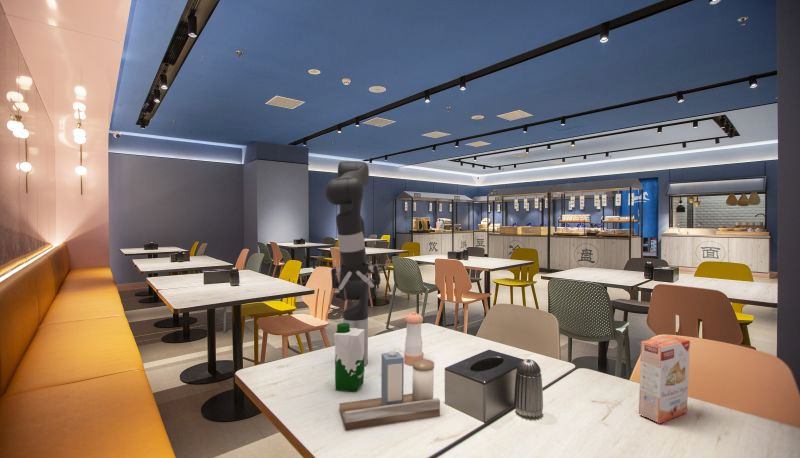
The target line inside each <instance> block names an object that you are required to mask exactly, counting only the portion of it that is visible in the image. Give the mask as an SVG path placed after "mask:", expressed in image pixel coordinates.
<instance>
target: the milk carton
mask: <svg viewBox="0 0 800 458" xmlns="http://www.w3.org/2000/svg"><path fill="white" fill-rule="evenodd" d="M333 337H334V339H333V340H334V390H335V391H342V392H353V393H357V392H358V391H359V390H360V388H361V387H362V385H363V384H364V376H365V366H364V329H357V328H350V324H348V323H343V322H342V323H338V324H337V325H336V331H335V333H334V334H333Z"/></svg>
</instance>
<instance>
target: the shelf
mask: <svg viewBox="0 0 800 458" xmlns="http://www.w3.org/2000/svg"><path fill="white" fill-rule="evenodd" d="M338 405H339V409H338V410H339V411H338V412H339V413H340V417H341V420H342V424H343V427H344V430H345V431H346V432H347V431H352V430H359V429H365V428H372V427H376V426H384V425H390V424H397V423H404V422H411V421H415V420H424V419H428V418H429V419H430V418H434V417H435V418H436V417H440V416H441V400H440V398H438V397H436V398H433V399H429V400H422V401H415V402H412V393H406V394H403V403H401V404H394V405H387V406H383V405H382V403H381V397H377V398H367V399H362V400H354V401H347V402H339V404H338Z"/></svg>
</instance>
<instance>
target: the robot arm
mask: <svg viewBox="0 0 800 458" xmlns="http://www.w3.org/2000/svg"><path fill="white" fill-rule="evenodd" d="M369 178H370V171H369V165H368V164H367V163H366V162H365V161H361V160H360V161H359V160H358V161H357V160H353V161H352V160H346V161H345V160H343V161H340V162H339V163H338V166H337V177H336V178H333V179H331V180H329V181H328V182H327V184H326V187H325V191H324V192H325V193H324V194H325V198H326V199H327V201H328V203H330V204H332V205H335V206H338V205H339V213H338V214H337V215H336V216H335V217H336V218H335V220H336V221H335V222H336V229H337V236H338V237H337V242H338V243H337V244H338V250H339V251H338V252H339V257H340V258H339V261H340V262H339V267H337V266H333V267H332V268H331V271H330V273H331V274H330V275H331V286H332V288H333V289H338V292H339V297H340V300H342V301H343V302H346V301H359V302H358V303H357V304H356V305H353V306H350V307H348V308H346V309H345V310H343V312H342V313H343V315H342V316H343V317H342V319H343V320H342V323H348V324H350V328H357V329H364V367H365V366H367V365H368V364H369V361H368V360H369V355H368V354H369V343H368V342H369V340H368V339H369V334H368V333H369V294H370V299H371V300H375V299H374V298H375V297H376V294H377V290H376V287H377V286H380V284H381V280H382V279H381V275H380V269H379V264H378V263H374V264H370V265H369V264H368V261H367V260H368V259H367V252H366V245H365V234H366V233H365V229H366V227H365V221H364V219H363V217H362V215H361V212H362V210H361V209H362V203H363V196H364V187H366V186H367V184H368V183H369ZM369 271H371V273H373V274H374V275H373V276H374V279H373V278H372V277H371V276H370V274H369V273H368V272H369ZM338 277H339V278H338ZM369 292H370V293H369Z"/></svg>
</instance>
